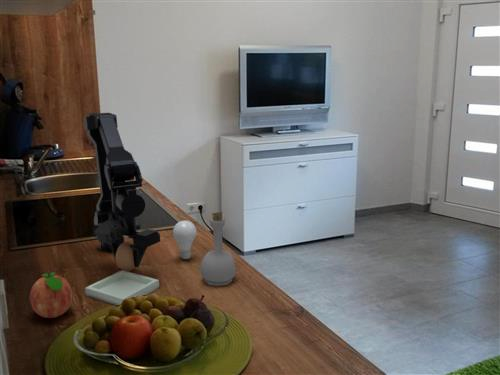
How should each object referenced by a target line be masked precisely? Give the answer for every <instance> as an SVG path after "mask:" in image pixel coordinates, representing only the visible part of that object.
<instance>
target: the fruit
mask: <svg viewBox="0 0 500 375" xmlns="http://www.w3.org/2000/svg"><path fill="white" fill-rule="evenodd" d="M41 276H42V277H40V278H39V279H37V280H36V281H35V282H34V284H33V285H32V287H31V289H30V295H29V303H30V306H31V308H32V310H33V311H34V312H35V313H36V314H37V315H38V316H40V317H42V318H45V319H54V318H57V317H60V316H62V315H63V314H65V313H66V312H67V311H68V310H69V308H70V306H71V305H72V302H73V297H74V296H73V289H72V287H71V284H70V283H69V282H68V280H67V279H66V278H64V277H62V276H60V275H58V274H57V272H51V271H49V270H48V271H47V273H46V272H45V273H43V274H41Z"/></svg>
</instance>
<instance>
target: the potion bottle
mask: <svg viewBox="0 0 500 375" xmlns="http://www.w3.org/2000/svg"><path fill="white" fill-rule="evenodd" d="M209 224H210V226H211V228H212V230H213V232H212V234H213V235H212V236H213V250H211V251H207V253H205V255H204V257H203V258H202V260H201V264H200V267H199V271H200V272H201V277H202V278H204V282H205V283H206V284H207V285H209V286H212V287H213V286H214V287H222V286H227V285H229V284H231V283H232V282H233V278H235V274H236V273H237V268H236V264H235V260H234V257H233V254H232V253H231V252H230V251H228V250H224V249H223V228H224V226H225V224H226V219H225V217H223V211H219V212H213V213H211V218H210V219H209Z"/></svg>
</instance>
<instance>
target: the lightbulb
mask: <svg viewBox="0 0 500 375" xmlns="http://www.w3.org/2000/svg"><path fill="white" fill-rule="evenodd" d="M172 229H173V230H172V235H173V238H174V240H175V241H176V242H177V243H178V247H179V250H180V258H181V259H183V260H185V261H187V260H189V259H190V258H191V257H192V256H191V248H192V245H193V244H192V243H193V242H194V240H195V238H196V237H197V228H196V226H195V224H194V223H193V222H191V221H190V220H181V221H178V222H177V223H176V224H174V227H173V228H172Z"/></svg>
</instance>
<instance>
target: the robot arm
mask: <svg viewBox="0 0 500 375" xmlns="http://www.w3.org/2000/svg"><path fill="white" fill-rule="evenodd" d="M83 128H84V129H83V130H85V131H86V134H87V138H88V139H89V140H90V142H91V143H92V144H93V146H94V150H95V151H94V152H95V158H96V159H95V160H96V168H97V176H98V182H99V184H98V185H99V192H100V197H99V199H98V201H97V203H96V211H95V213H94V218H93V224H94V225H93V228H92V229H91V230H92V237H94V238H95V237H96V238H97V240H98V243H100V245H99V246H97V247H96V250H99V251H103V252H107V253H110V254H111V253H112V255H113V257H114V259H115V260H116V251H117V249H118V247H119V246H120V245H121V244H122V243H123V242H125V238H129V239H132V244H131V245H129V247H130V248H131V249H132V250H133V258H134V265H135V268H134V269H136V268H137V269H138V268H139V266H140V265H141V262H142V260H143V258H144V255H145V252H146V251H147V249H148V247H151V246H153V245H156V244H158V243H159V242H161V233H160V232H159V231H157V230H154V229H149V228H146V229H144V230H141V224H138V223H137V217H140V216H141V215H142V214H143V213H144V211H145V208H146V202H145V199H144V198H143V196H141V195H140V194H139V193H138V192H137V188H140V187H141V188H142V187H143V180H144V179H143V176H142V172H141V170H140V165H138V162H137V161H135V158H134V157H133V155H132V152H130V151H128V150H126V149H125V147H124V144H123V142H122V141H123V140H122V138H121V134H120V133H119V130H118V118H117V114H114V113H112V112H95V113H87V116H85V117H83ZM138 230H141V231H138Z"/></svg>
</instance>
